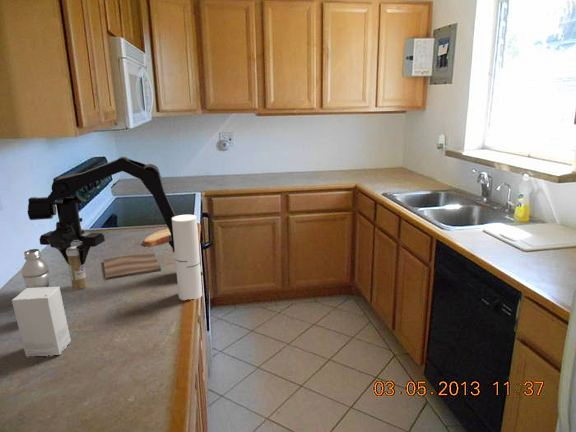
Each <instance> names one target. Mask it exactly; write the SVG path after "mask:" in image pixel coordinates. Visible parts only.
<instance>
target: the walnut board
mask: <svg viewBox="0 0 576 432" xmlns="http://www.w3.org/2000/svg"><path fill="white" fill-rule="evenodd" d="M103 267H104V273H105V280H106V281H109V280H114V279H119V278H120V279H121V278H126V277H131V276H132V277H133V276H137V275H143V274H149V273H155V272H161V271H162V267H161V265H160V262H159V261H158V260H157V257H156V255H155V253H154V251H149V252H143V253H136V254H130V255H124V256H117V257H110V258H104V259H103Z"/></svg>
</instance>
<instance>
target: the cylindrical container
mask: <svg viewBox="0 0 576 432" xmlns="http://www.w3.org/2000/svg"><path fill="white" fill-rule="evenodd" d="M172 227H173V238H174V250H175V252H174V259H175V260H174V261H175V269H176V281H177V292H178V293H177V294H178V299H179V300H181V301H185V300H187V299H194V300H193V301H195V300H198V299H200V298H201V297H202V296H203V287H202V276H201V272H202V271H201V258H200V244H199V243H200V242H199V231H198V218H197V215H195V214H180V215H176V216H175V217H173V218H172Z"/></svg>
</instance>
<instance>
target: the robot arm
mask: <svg viewBox="0 0 576 432" xmlns="http://www.w3.org/2000/svg"><path fill="white" fill-rule="evenodd" d="M121 172H123V173H126V174H128V175H130V176H132V177H134V178H135V179H136V178H137V179H139V180H140V181H141V182H142V184H143V186H144V187H145V188H146V189H147V190H148V192H149V193H150V194H151V196H152V197H153V198H154V202H155V203H156V205H157V207H158V210H159V211H160V214H161V217H162V218H163V220H164V221H165V224H166V227H167V229H169V231H170V233H171V236H168V242H167V243H168V244H169V245H170V247H171V249H172V253H174V254H175V250H174V238H173V227H172V218H173V217H175V216H177V215H176V213H175V211H174V209H173V207H172V204H171V202H170V200H169V198H168V196H167V193H166V192H165V191H166V190H165V188H164V185H163V181H162V176H161V173H160V170H159V168H158V166H157V165H155V164H152V163H148V164H146V163H143V162H140V161H136V160H133V159H131V158H128V157H127V156H119V158H117V159H114V160H111V161H110V162H109V161H108V162H106V163H104V164H102V165H99V166H96V167H94V168H90V169H88V170H86V171H84V172H77V173H70V174H66V175H62V176H59V177H58V178H56V179H55V180H54V181H53V182H52V184H51V192H50V193H49V195H48V196H41V197H36V196H33V197H31V196H30V198H28V199H27V201H28V205H27V216H28V219H29V220H30V221H38V220H50V219H51V220H52V219H53V217H54V216H56V215H57V219H58V221H57V222H56V224H55V227H56V228H55V229H54V230H50V231H48V232H46V233H43V234H42V235H40V237H39V244H40V245H43V246H44V245H45V246H49V245H50V247H51V248H54V249H57V250H58V251H59V253H60V254H61V255H62V256H63V258H64V260H65V262H66V263H67V265H69V263H68V257H67V254H66V249H67V248H70V247H72V242H74V243H75V242H77V243H78V242H79V244H78V245H76V246H77V247H76V248H77V249H78V250H79V255H80V261H81V265H83V264H84V265H85V263H86V260H87V256H88V254H89V251H90V249H91V248H94V247H97V246H98V245H100V244H103V243H104V242H105V241H106V240H105V239H106V238H105V235H104V234H103V233H102V232H90V233H88V234H86V235H84V234H85V230H84V229H82V225H81V223H82V222H83V217H80V214H79V213H80V212H79V207H78V204H82V203H83V202H84V200H85V199H84V198H83V197H82V196H80V195H79V194H78V193H76V192H78V191H79V190H81V189H83V188H84V187H86V186H88V185H90V184H92V183H95V182H97V181H101V180H103V179H106V178H108V177H111V176H114V175H116V174H118V173H121ZM75 193H76V194H75ZM73 194H75V195H74V196H71V195H73ZM60 198H61V199H62V200H59V199H60ZM203 275H204V274H203V271H201V277H202V276H203Z"/></svg>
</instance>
